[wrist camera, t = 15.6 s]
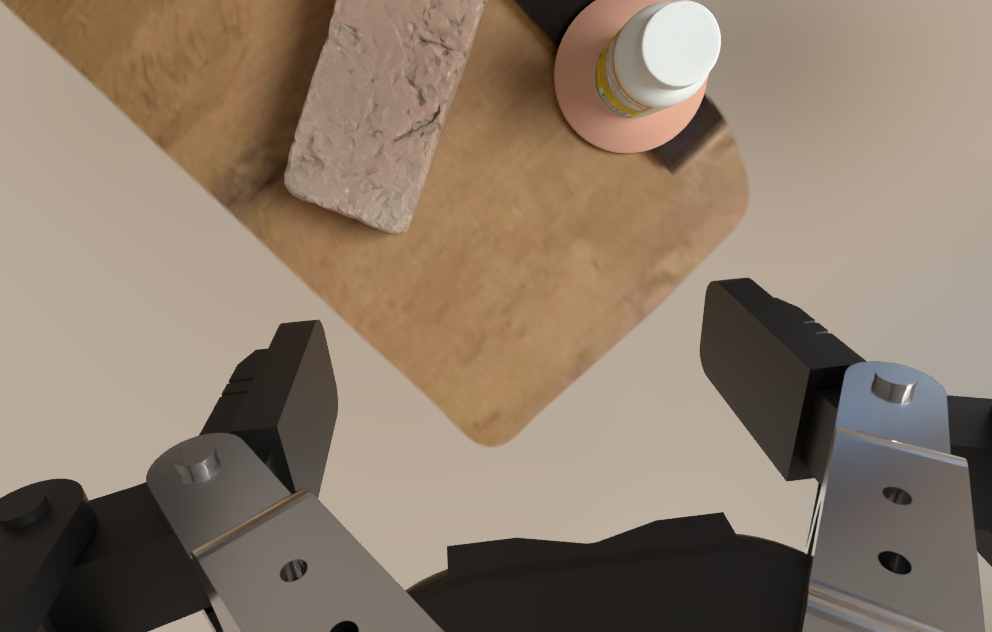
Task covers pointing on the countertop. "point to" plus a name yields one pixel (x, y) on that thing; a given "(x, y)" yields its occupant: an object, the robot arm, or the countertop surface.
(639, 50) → the supplement bottle
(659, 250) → the countertop surface
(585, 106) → the pink round coaster
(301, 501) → the robot arm
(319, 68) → the brick
